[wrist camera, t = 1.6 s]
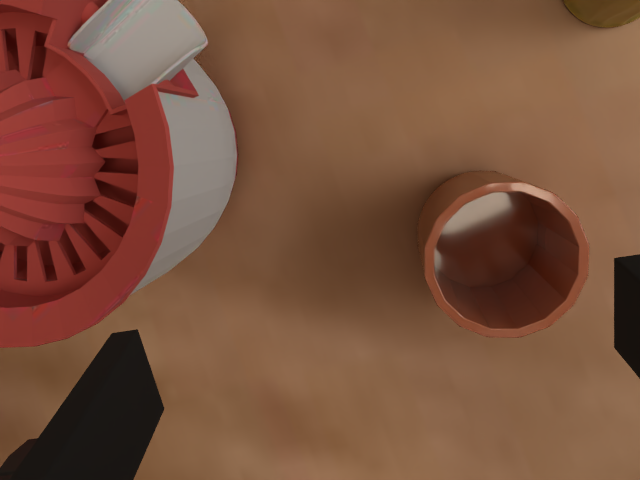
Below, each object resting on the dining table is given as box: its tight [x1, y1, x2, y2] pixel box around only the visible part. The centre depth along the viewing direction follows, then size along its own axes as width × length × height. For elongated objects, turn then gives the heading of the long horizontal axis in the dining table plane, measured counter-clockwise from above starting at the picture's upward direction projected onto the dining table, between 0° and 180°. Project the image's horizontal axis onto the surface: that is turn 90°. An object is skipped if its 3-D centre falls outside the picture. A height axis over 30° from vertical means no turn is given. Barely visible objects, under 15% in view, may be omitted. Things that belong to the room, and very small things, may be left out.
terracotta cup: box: [417, 171, 589, 338], centre depth 34 cm, size 8×8×9 cm
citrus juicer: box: [0, 0, 238, 348], centre depth 30 cm, size 16×17×20 cm
